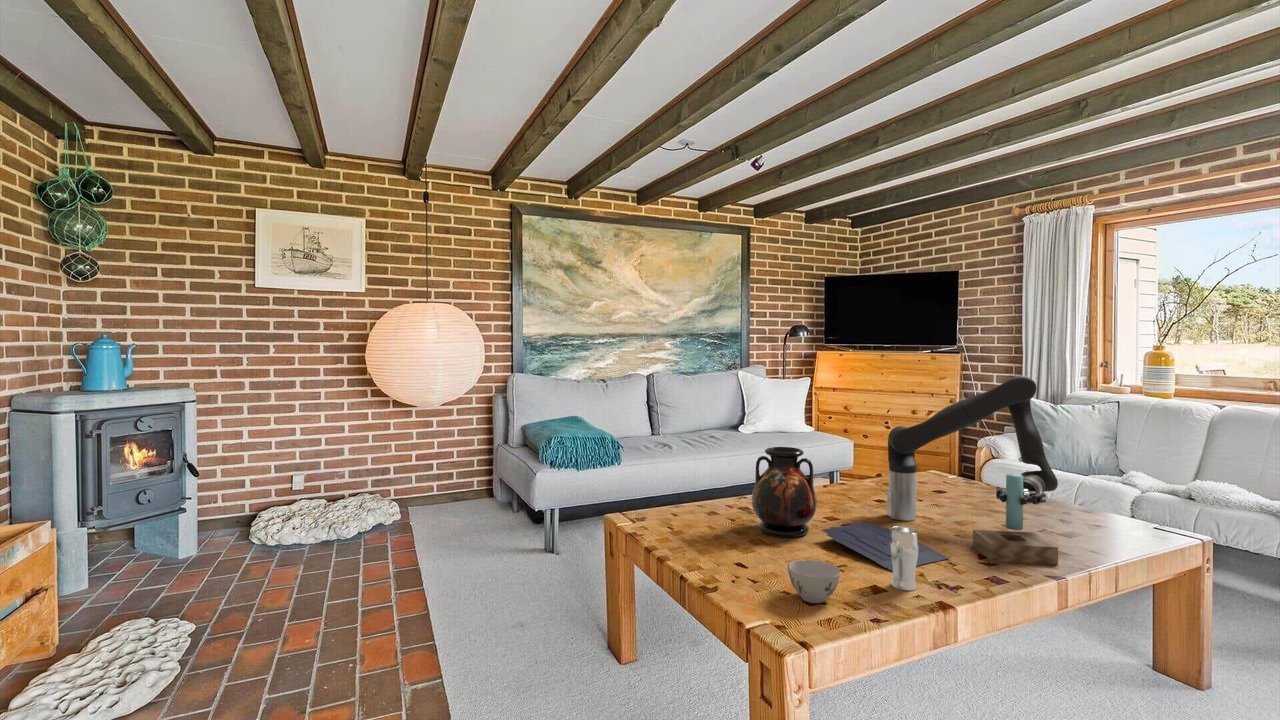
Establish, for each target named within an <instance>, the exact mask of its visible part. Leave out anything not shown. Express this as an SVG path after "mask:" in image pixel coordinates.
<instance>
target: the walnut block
mask: <svg viewBox="0 0 1280 720" xmlns="http://www.w3.org/2000/svg"><path fill="white" fill-rule="evenodd" d="M972 546H973V547H974V548H975V549H976V550H977V551H979V552H980V553H981V554H982V555H983V556H984V557H986V559H988V560H989V561H990V562H1006V563H1024V564H1025V563H1026V564H1042V565H1043V564H1044V565H1059V547H1058V546H1057V545H1056V544H1054V543H1053V542H1051V541H1049V540H1048V539H1046V538H1044V537H1043V536H1042V535H1040V534H1038V533H1037V532H1033V531H1015V530H1013V531H1009V530H991V529H990V530H987V529H972Z"/></svg>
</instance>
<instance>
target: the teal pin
mask: <svg viewBox="0 0 1280 720" xmlns="http://www.w3.org/2000/svg"><path fill="white" fill-rule="evenodd" d="M1005 490H1006V502H1005V528H1006V529H1007V530H1013V531H1022V530H1024V505H1020V498H1021V497H1022V496H1023V476H1022V475H1021V474H1019V473H1018V474H1017V473H1006V474H1005Z"/></svg>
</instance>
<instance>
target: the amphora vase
mask: <svg viewBox="0 0 1280 720" xmlns="http://www.w3.org/2000/svg"><path fill="white" fill-rule="evenodd" d="M764 453H765V454H766V455H768V456H770V457H768V456H765V455H761V456H759V457H758V458H757V460H756V463H755V478H754V479H755V483H754V486H753V490H752V495H751V503H752V504H751V505H752V509H753V511H754V514H755V516H757V518H758V519H759V520H760V521H761V522H759V524H758V525H759V526H758V527H759V529H760V530H761V531H762V532H763V533H764V534H767V535H769V536H772V537H777V538H787V539H788V538H790V539H791V538H799V537H800V538H801V537H803V536H805V535H806V534H808V533H809V530H810V528H809V526H808V523H809V522H810V521H811V520H812V519H813V517H814V516H815V514H816V512H817V506H818V500H817V494H816V491H815V488H814V466H813V463H812V461H811V459H808V457H807V458H805V457H804V458H801V459H799V457H802V456H803V455H804V450H803V449H801V448H798V447H797V448H796V447H790V446H773V447H771V446H770V447H768V448H767V447H766V449H764ZM798 459H799V460H798ZM763 460H764V461H766V463H767V468H766V469H765V470H764V472H763V473H762V474H761V475H760V465H761V462H762V461H763ZM802 463H806V464H807V465H808V468H809V477H807V476H806V474H805V473H804V472H803V470H802V469H801V464H802Z"/></svg>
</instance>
